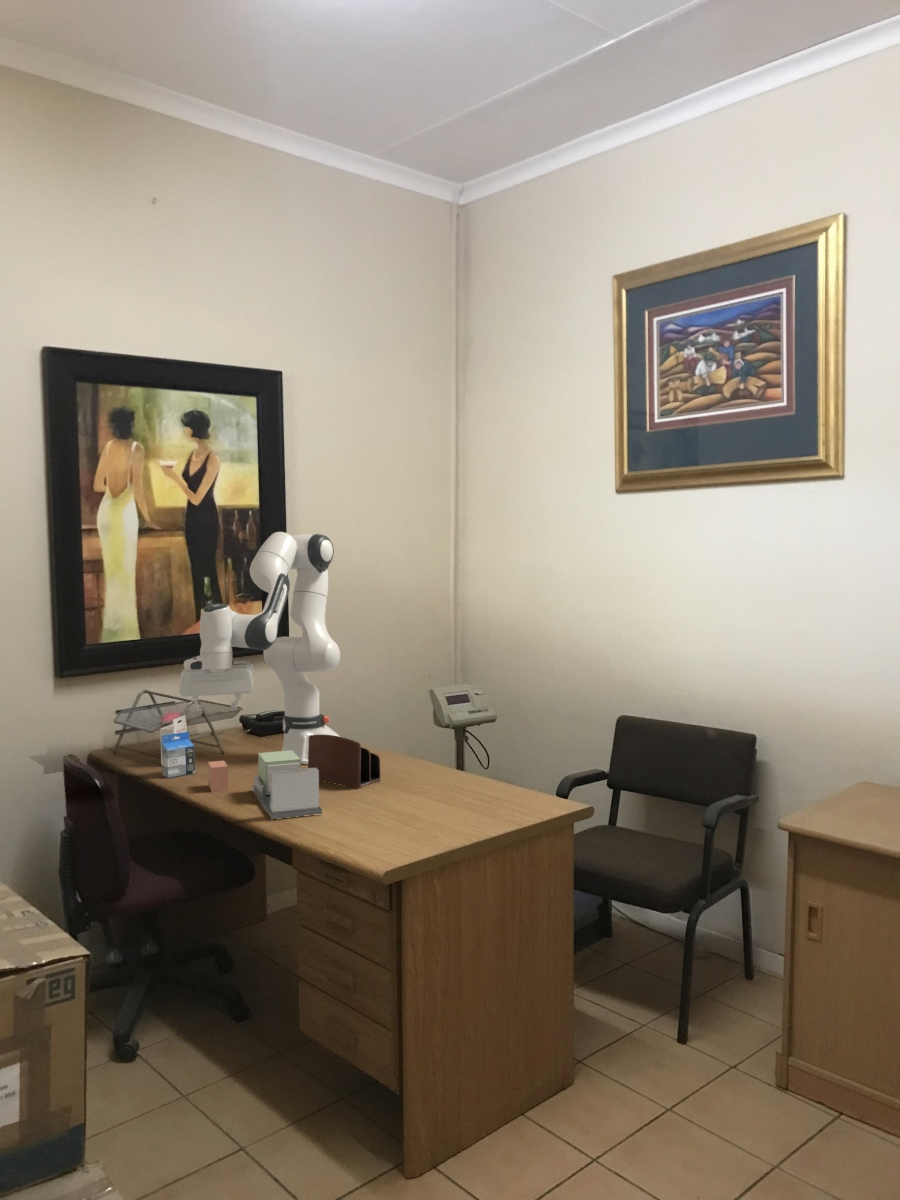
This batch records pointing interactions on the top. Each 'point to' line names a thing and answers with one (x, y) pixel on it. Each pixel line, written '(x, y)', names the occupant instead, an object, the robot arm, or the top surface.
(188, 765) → the label tape box
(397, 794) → the top surface
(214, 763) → the block
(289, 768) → the pale green block
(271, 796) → the tray
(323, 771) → the letter holder
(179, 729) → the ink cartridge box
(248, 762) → the top surface
